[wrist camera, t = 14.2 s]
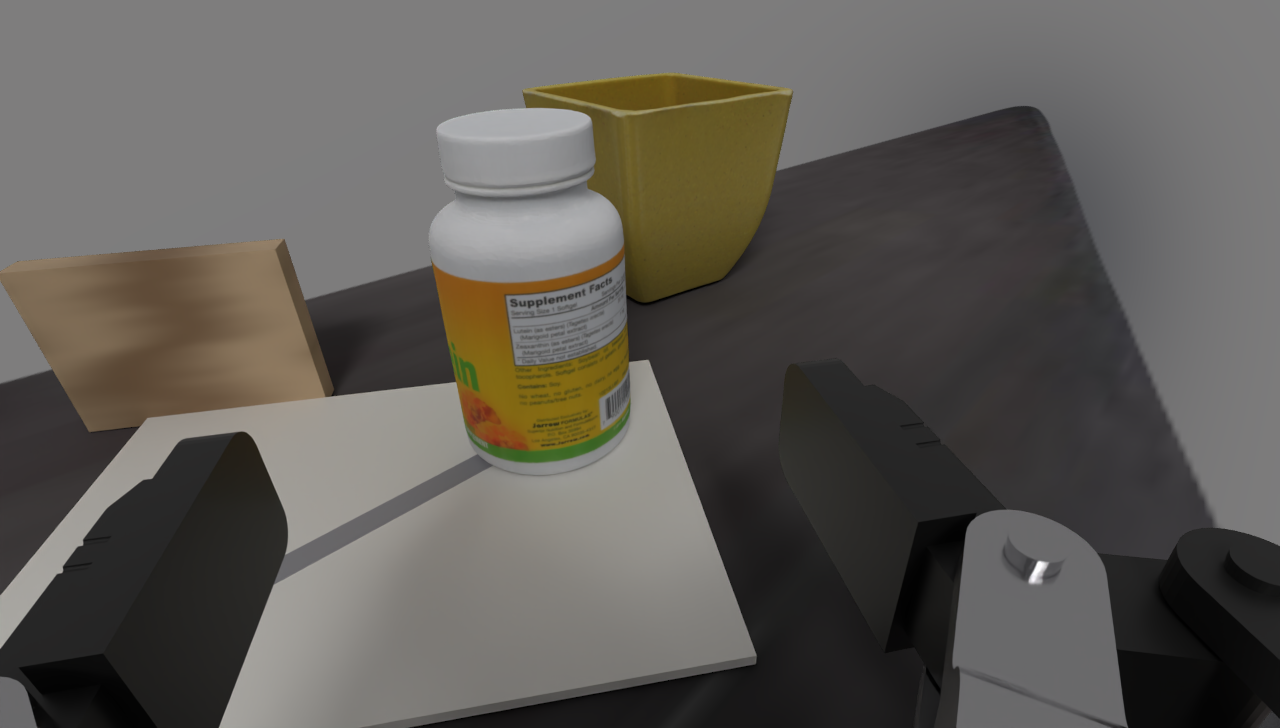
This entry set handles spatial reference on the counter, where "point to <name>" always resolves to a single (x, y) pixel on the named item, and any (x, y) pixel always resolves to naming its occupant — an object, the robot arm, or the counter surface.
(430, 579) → the paper
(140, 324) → the wooden block
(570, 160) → the supplement bottle
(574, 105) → the flower pot
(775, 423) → the counter surface
